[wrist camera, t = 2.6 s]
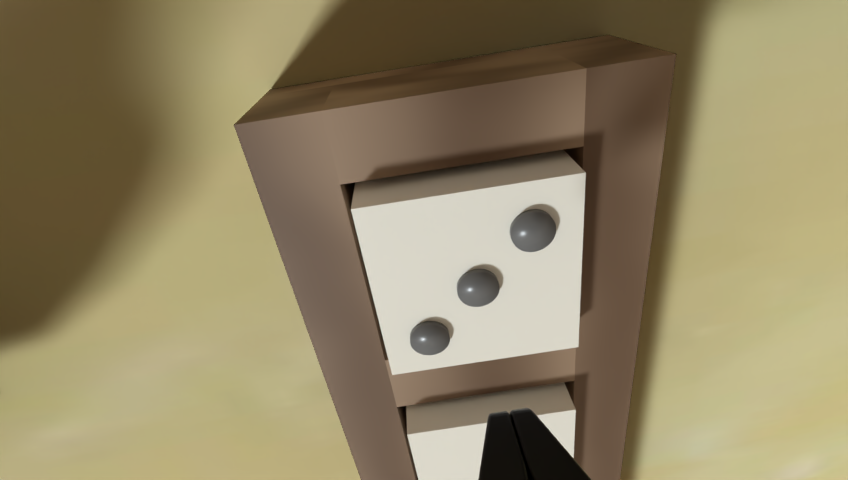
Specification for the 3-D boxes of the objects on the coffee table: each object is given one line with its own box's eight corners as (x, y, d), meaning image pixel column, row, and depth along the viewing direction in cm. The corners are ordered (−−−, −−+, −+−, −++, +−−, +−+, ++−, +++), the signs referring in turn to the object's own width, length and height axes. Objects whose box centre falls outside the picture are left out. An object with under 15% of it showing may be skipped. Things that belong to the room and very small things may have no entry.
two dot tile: (425, 467, 21) (430, 530, 19) (404, 378, 18) (407, 439, 16) (552, 448, 21) (573, 509, 19) (552, 356, 18) (577, 414, 16)
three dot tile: (392, 321, 17) (392, 380, 14) (357, 171, 14) (350, 213, 11) (553, 297, 17) (580, 351, 14) (553, 140, 14) (588, 175, 11)
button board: (409, 543, 29) (411, 620, 26) (270, 89, 15) (233, 125, 11) (579, 519, 29) (605, 592, 26) (608, 34, 15) (676, 53, 11)
